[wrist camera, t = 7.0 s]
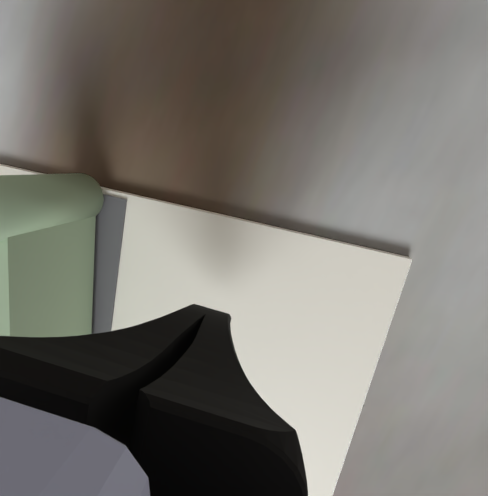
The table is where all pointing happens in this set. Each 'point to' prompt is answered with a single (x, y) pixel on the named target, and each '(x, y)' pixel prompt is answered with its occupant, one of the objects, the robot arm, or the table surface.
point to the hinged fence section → (47, 253)
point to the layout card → (257, 306)
